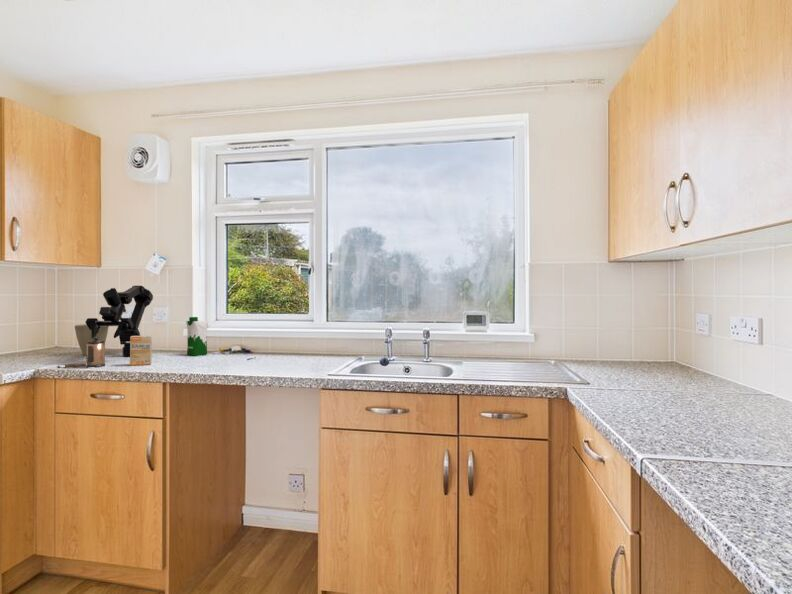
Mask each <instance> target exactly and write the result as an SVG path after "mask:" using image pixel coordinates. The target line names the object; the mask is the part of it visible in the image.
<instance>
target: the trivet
mask: <svg viewBox="0 0 792 594" xmlns="http://www.w3.org/2000/svg"><path fill="white" fill-rule="evenodd" d="M62 365H65V367H74V368H80V367H79V366H82V367H85V365H86V366H87V363H85V362H80V363H79V362H75V363H74V362H73V363H65V364H64V363H63V364H62Z"/></svg>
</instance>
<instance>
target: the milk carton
mask: <svg viewBox="0 0 792 594" xmlns="http://www.w3.org/2000/svg"><path fill="white" fill-rule="evenodd" d="M198 319H199V318H198V317H197V316H189V319H188V320H186V321H185V323H186V329H187V330H186V331H187V346H186V347H187V348H186V349H187V352H186V356H188V355H190V357H199V356H198V355H202V356H207V355H208V343H207V342H208V339H207V338H208V331H207V330H208V323H209V321H208V320H198ZM206 354H207V355H206Z"/></svg>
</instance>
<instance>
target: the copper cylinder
mask: <svg viewBox="0 0 792 594" xmlns="http://www.w3.org/2000/svg"><path fill="white" fill-rule="evenodd" d="M93 339H94V340H95V341H87V342H86V343H87V356H86V368H88V367H95V368H102V366H103V367H106V341H103V340H99V341H97V340H98V337H97V336H96V337H94V338H93Z"/></svg>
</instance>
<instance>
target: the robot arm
mask: <svg viewBox="0 0 792 594" xmlns="http://www.w3.org/2000/svg"><path fill="white" fill-rule="evenodd" d="M102 296H103V298H104V300H105V302H106V303H107V305H108V306H101V307H100V309H99V312H98V313H99V314H98V315H101V319H102V320H99V319H98V318H96V317H89V318H88V317H87V318H86V319H85V321H84V322H85V324H87V326H88V328H89V329H90V330H91V337H92V338H94V337H95V336H96V334H97V333H98V332H99V329H100V326H109V327H117V328H116V330H115V332H114V334H113V338H114V339H116V338H117V337H119V344H120V345H122V346H123V347H122V356H123V357H125V358H126V357H127V358H128V357H129V358H130V337H131V336H141V332H140V330H139V327H140V324H141V322H142V321H141V320H142V318H143V316H144V314H145V313H144V312H145V310H146V307H148V306H150V305H151V303H152V301H153V300H154V295H153V292H151V291H150V290H149V289H147V288H145V286H143V285H132V287H130V288H128V289H126V290H125V291H119V292H118V291H117V289H116V287H111V288H110V289H107V290H106V291H104V292H103V293H102ZM133 300H134V302H135V304H134V308H133V310H132V313H131V316H130V317H122V316H123V313H126V312H127V309H126V305H130V304H131V303H132V302H133Z"/></svg>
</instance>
